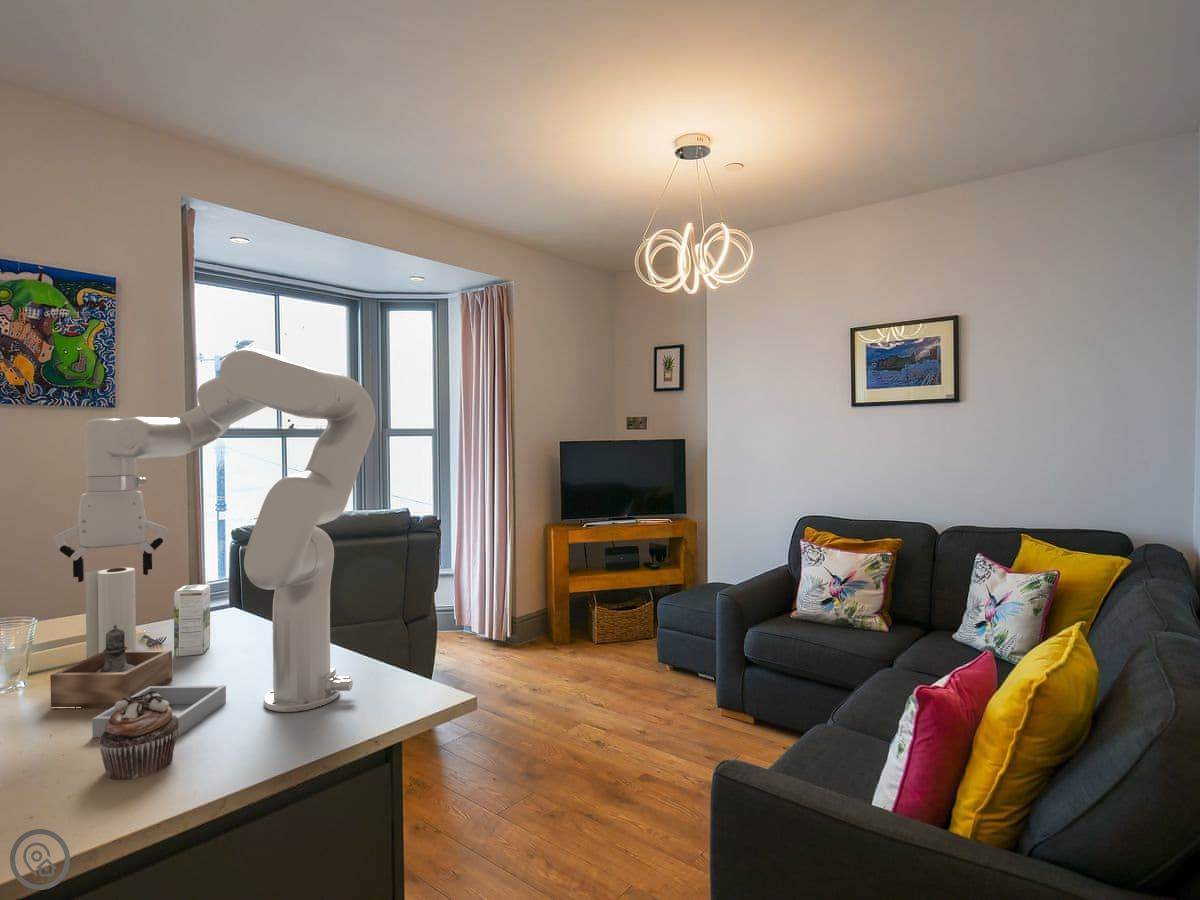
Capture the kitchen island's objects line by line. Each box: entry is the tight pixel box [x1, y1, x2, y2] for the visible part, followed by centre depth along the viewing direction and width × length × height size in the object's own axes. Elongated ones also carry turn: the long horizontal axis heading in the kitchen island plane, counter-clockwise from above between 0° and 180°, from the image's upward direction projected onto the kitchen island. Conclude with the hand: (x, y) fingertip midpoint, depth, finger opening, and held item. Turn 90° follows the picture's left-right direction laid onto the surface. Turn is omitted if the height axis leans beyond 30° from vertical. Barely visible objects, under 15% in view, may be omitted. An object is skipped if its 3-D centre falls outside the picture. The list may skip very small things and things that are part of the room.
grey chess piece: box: [96, 625, 135, 673], centre depth 122 cm, size 6×6×12 cm
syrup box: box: [173, 584, 211, 657], centre depth 146 cm, size 6×6×14 cm
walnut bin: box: [49, 649, 173, 709], centre depth 122 cm, size 13×13×6 cm
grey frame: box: [91, 685, 227, 738], centre depth 111 cm, size 14×14×3 cm
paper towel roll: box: [84, 567, 137, 659], centre depth 131 cm, size 7×6×21 cm
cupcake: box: [98, 691, 180, 781], centre depth 95 cm, size 10×10×10 cm
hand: (114, 577), depth 121 cm, fingers open, 9 cm apart
